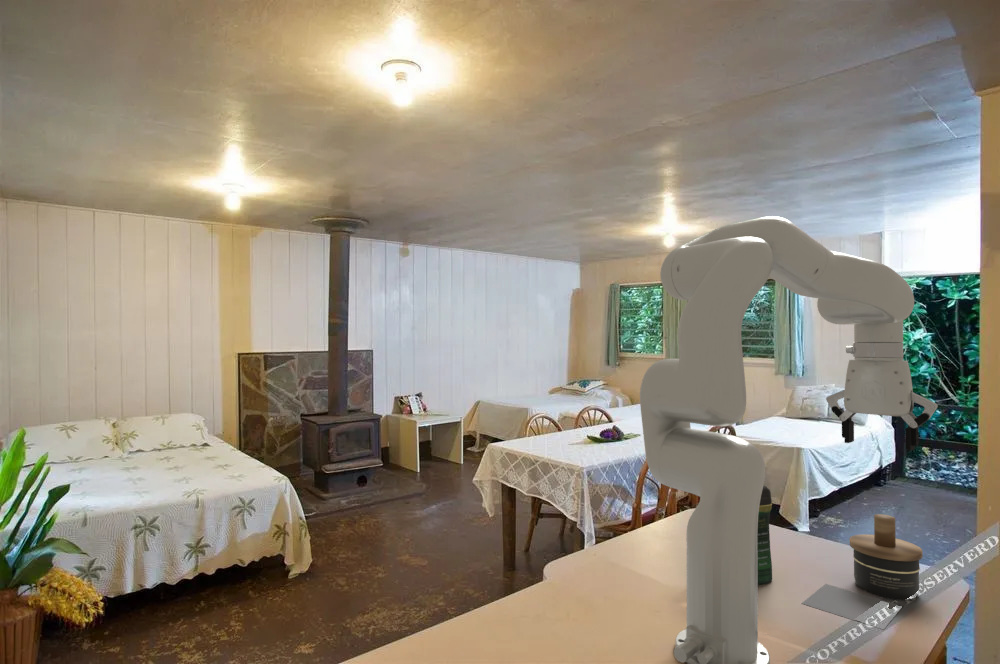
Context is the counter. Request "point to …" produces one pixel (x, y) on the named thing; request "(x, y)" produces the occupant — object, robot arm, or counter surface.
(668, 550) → the counter surface
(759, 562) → the coffee jar
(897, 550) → the lid
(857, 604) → the mat
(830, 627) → the counter surface
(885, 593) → the jar
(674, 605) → the counter surface
